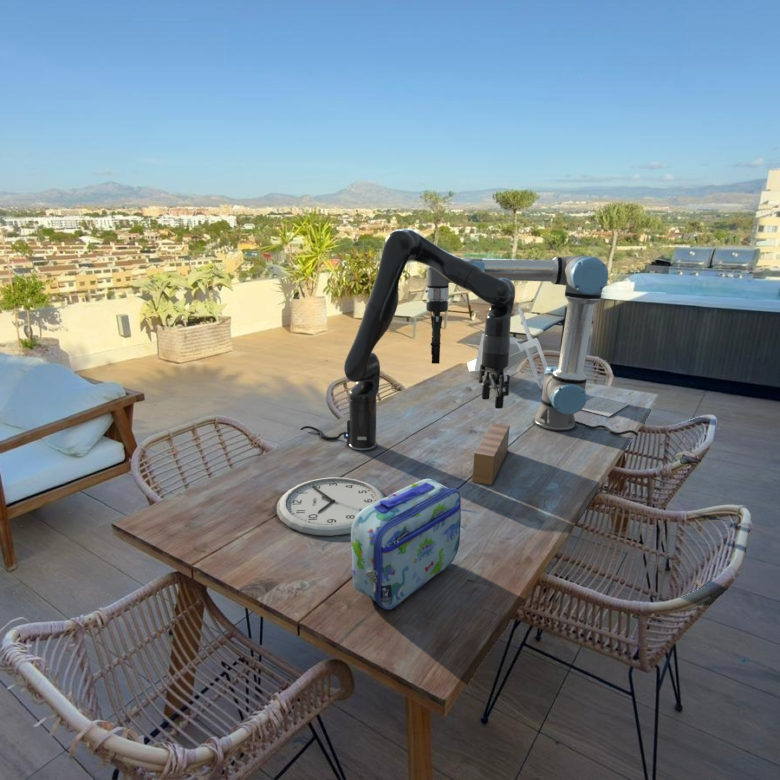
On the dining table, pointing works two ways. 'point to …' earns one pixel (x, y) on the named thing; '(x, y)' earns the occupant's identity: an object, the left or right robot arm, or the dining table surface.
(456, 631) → the dining table surface
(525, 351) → the white plastic object
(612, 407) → the invitation card
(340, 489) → the wall clock
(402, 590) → the lunch box
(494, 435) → the bar
